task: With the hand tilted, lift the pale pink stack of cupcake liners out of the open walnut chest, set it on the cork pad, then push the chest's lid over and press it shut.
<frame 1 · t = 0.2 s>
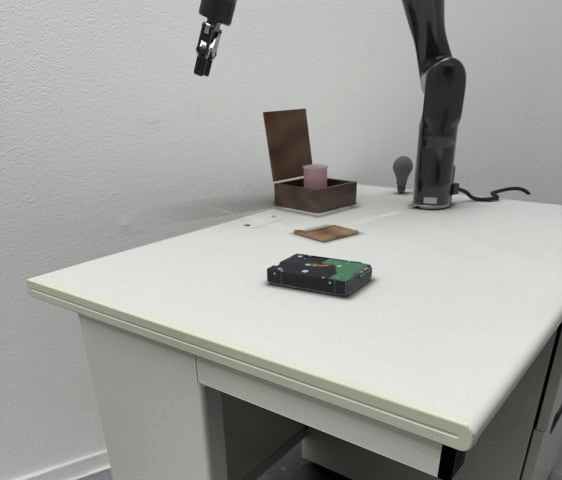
hand: (201, 75, 128), 31 cm above the table, tool tilted 20°, fingers open, 8 cm apart
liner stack: (315, 204, 143), point 1 cm above the table, touching chest
chest: (315, 207, 143), on the table
chest lid: (289, 144, 142), point 15 cm above the table, hinge at 100.0°
cork pad: (325, 233, 119), on the table
disk drive: (319, 282, 92), on the table
light bulb: (400, 193, 157), on the table
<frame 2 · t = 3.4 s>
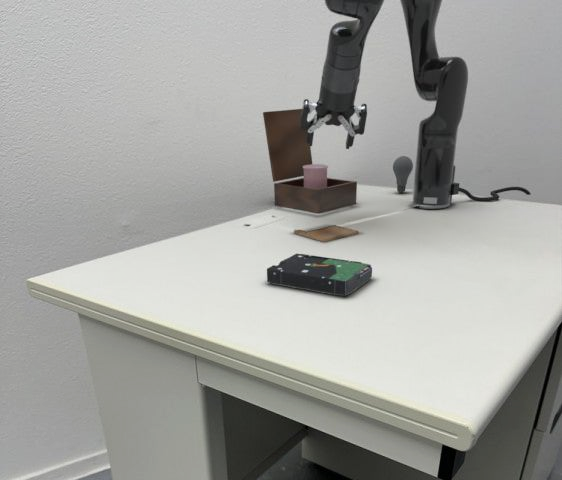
hand: (328, 145, 125), 16 cm above the table, tool tilted 35°, fingers open, 8 cm apart
nothing on the table moved.
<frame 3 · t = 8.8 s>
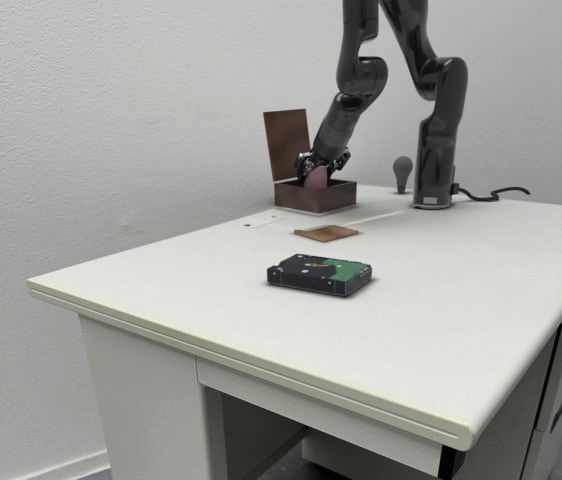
hand: (312, 180, 141), 7 cm above the table, tool tilted 45°, fingers closed on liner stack, 6 cm apart
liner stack: (315, 204, 143), point 1 cm above the table, touching chest, gripper
everything else where it was.
when the fingers open (7 cm above the table, at t = 18.7 s): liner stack stays where it is, resting on cork pad.
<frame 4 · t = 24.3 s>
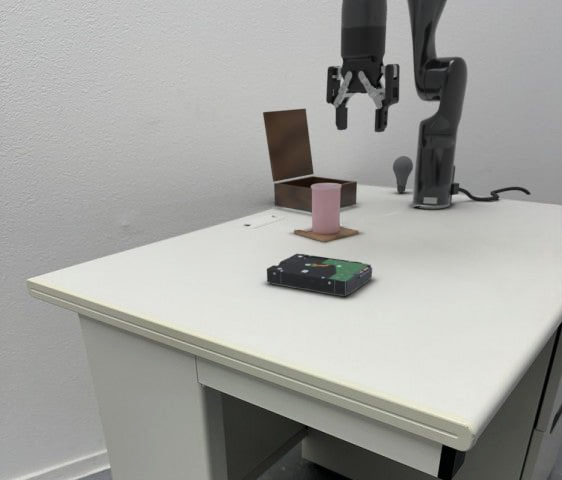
hand: (360, 130, 99), 21 cm above the table, tool pointing down, fingers open, 8 cm apart
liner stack: (325, 230, 119), point 1 cm above the table, touching cork pad
everything else where it was.
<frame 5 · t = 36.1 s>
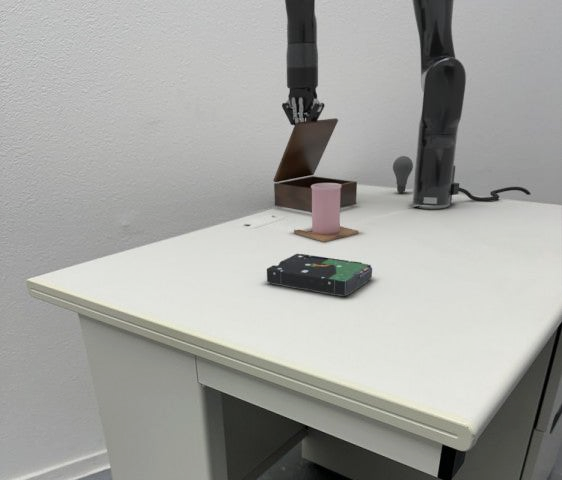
hand: (303, 144, 138), 15 cm above the table, tool pointing down, fingers closed
chest lid: (305, 150, 139), point 14 cm above the table, hinge at 58.2°, touching gripper
everything else where it was.
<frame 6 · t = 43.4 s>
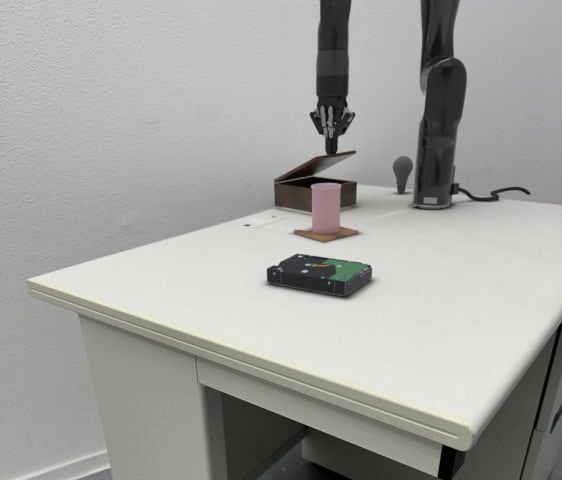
hand: (331, 154, 133), 13 cm above the table, tool pointing down, fingers closed
chest lid: (314, 166, 139), point 10 cm above the table, hinge at 24.0°
everything else where it was.
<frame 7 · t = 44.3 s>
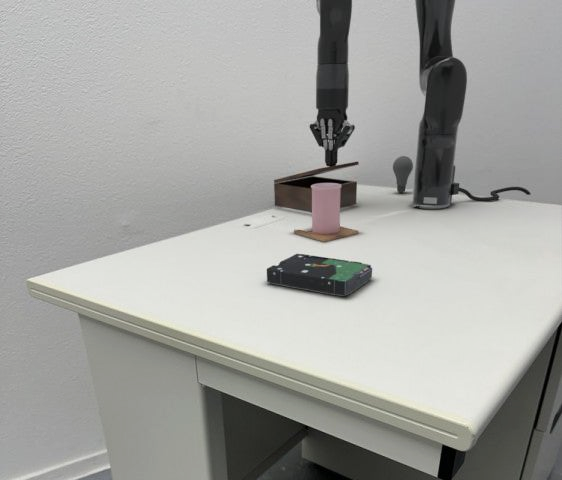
hand: (331, 165, 134), 11 cm above the table, tool pointing down, fingers closed
chest lid: (315, 172, 139), point 9 cm above the table, hinge at 14.3°, touching gripper
everything else where it was.
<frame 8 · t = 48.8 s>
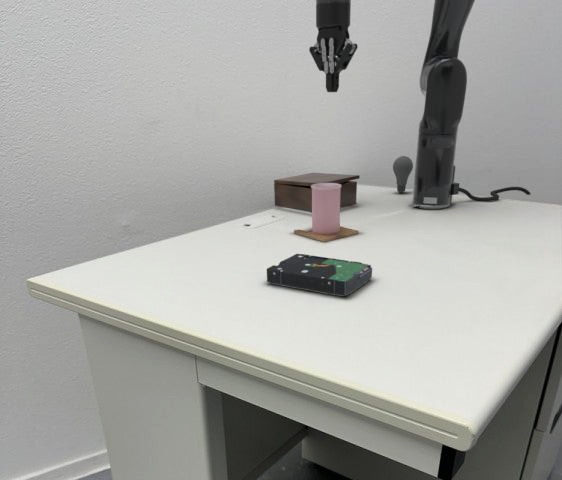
hand: (332, 92, 127), 27 cm above the table, tool pointing down, fingers closed
chest lid: (316, 179, 140), point 7 cm above the table, hinge at 2.7°
everything else where it was.
at the end: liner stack inside the target area on the cork pad (0.1 cm from its centre), point 0.6 cm above the cork pad's base; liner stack tilted 0°; chest lid at +3° (first picture: +100°) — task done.
